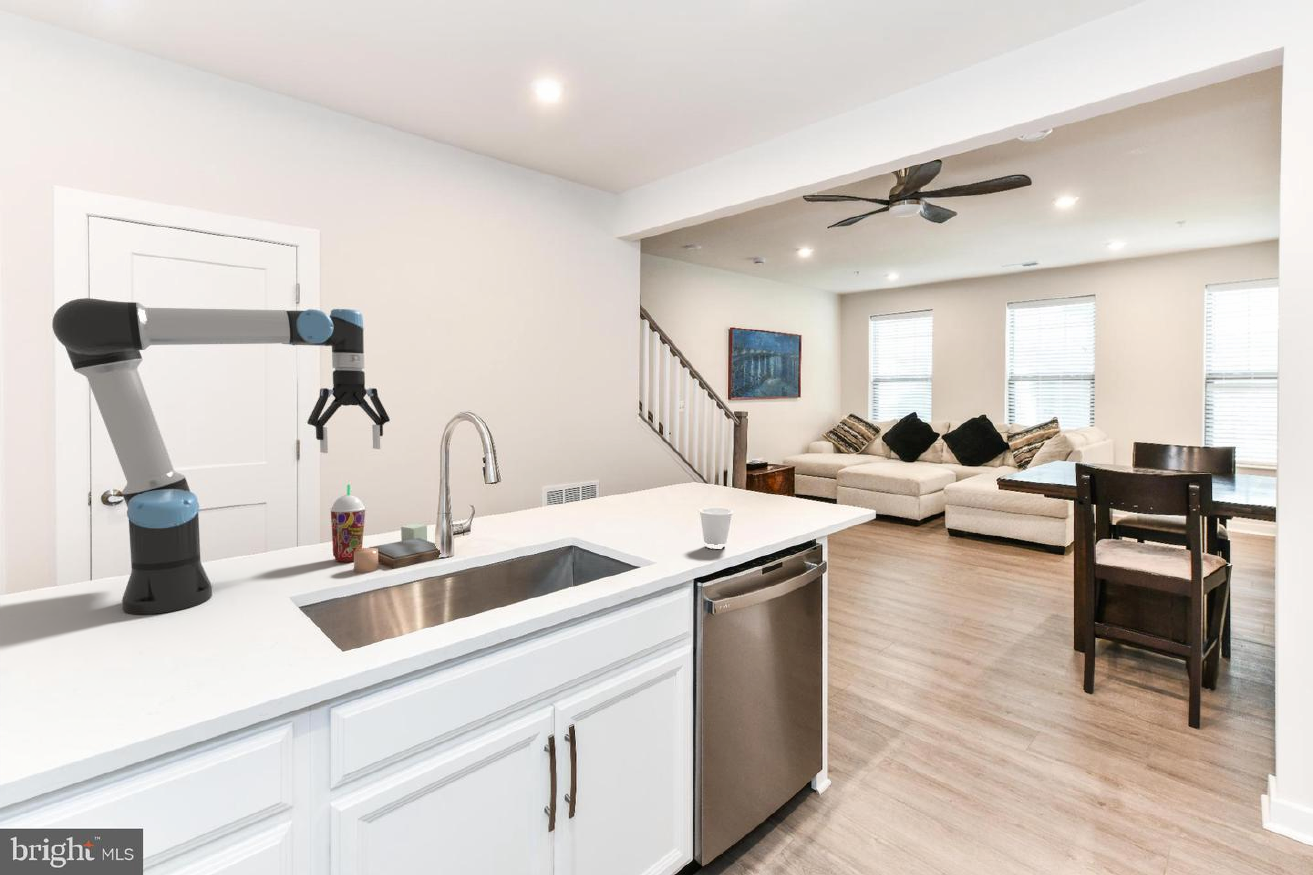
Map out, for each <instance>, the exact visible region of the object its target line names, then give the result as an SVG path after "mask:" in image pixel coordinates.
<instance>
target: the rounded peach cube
mask: <svg viewBox="0 0 1313 875" xmlns="http://www.w3.org/2000/svg"><path fill="white" fill-rule="evenodd" d="M377 571H379V563H378V549H376V548H369V547H364V548H363V547H362V549H358V550H355V551H354V561H353V572H354V573H355V574H356V573H357V574H370V573H373V572H374V573H375V572H377Z"/></svg>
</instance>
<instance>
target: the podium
mask: <svg viewBox="0 0 1313 875" xmlns="http://www.w3.org/2000/svg"><path fill="white" fill-rule="evenodd" d="M435 544H436V543H434V542H431V541H429V540H427V541H426V540H423V539H420V538H416V539H410V540H405V541H402V540H400V541H395V542H390V543H385V544H379V545H375V546H369V547H368V548H376V549H378V564H381V565H383V566H386V567H388V568H391V569H393V570H395V569H398V568H403V567H407V566H412V565H416V564H421V563H426V561H427V562H431V561H436V560H438V559H437V558H438V557H439V555H440V554H441V553H440V550H438V549H437V548H436V546H435ZM435 559H436V560H435Z"/></svg>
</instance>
